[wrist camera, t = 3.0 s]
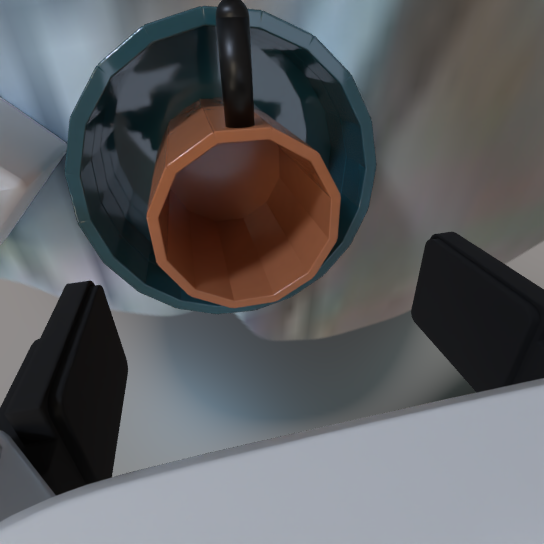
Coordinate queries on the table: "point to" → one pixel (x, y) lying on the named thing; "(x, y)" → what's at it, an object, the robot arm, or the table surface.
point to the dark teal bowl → (180, 94)
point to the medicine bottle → (23, 163)
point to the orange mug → (239, 191)
